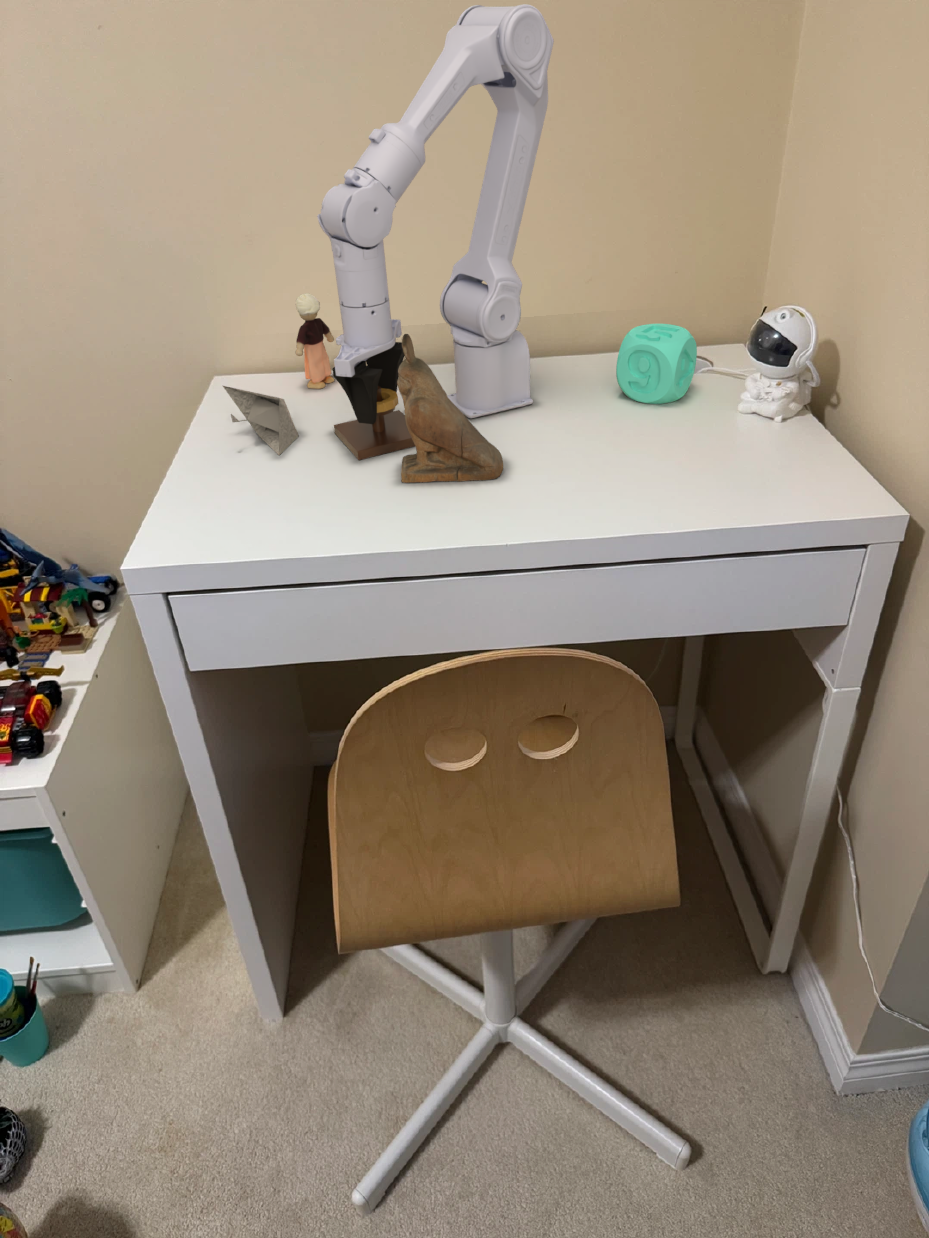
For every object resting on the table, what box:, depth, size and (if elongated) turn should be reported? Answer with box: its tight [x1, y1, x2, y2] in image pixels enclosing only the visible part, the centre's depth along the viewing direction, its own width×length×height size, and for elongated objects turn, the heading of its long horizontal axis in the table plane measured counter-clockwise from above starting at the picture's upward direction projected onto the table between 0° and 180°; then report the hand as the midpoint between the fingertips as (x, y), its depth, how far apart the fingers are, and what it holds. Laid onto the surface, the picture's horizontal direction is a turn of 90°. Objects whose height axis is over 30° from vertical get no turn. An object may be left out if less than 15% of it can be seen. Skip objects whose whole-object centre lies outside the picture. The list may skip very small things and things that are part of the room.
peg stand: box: [333, 386, 415, 461], centre depth 111 cm, size 9×9×7 cm
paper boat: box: [222, 385, 300, 456], centre depth 112 cm, size 12×6×9 cm
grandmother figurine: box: [295, 292, 336, 390], centre depth 125 cm, size 8×4×13 cm, turn 160°
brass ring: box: [377, 388, 399, 413], centre depth 110 cm, size 6×6×1 cm
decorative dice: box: [615, 323, 698, 405], centre depth 118 cm, size 8×8×8 cm
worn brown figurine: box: [397, 333, 504, 484], centre depth 100 cm, size 12×6×18 cm, turn 87°
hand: (377, 412), depth 111 cm, fingers closed on brass ring, 5 cm apart
